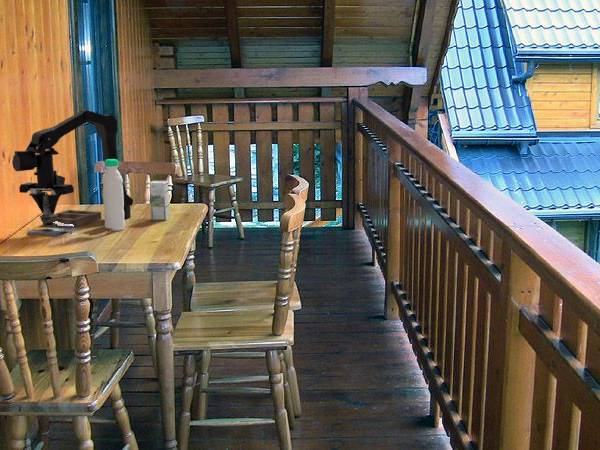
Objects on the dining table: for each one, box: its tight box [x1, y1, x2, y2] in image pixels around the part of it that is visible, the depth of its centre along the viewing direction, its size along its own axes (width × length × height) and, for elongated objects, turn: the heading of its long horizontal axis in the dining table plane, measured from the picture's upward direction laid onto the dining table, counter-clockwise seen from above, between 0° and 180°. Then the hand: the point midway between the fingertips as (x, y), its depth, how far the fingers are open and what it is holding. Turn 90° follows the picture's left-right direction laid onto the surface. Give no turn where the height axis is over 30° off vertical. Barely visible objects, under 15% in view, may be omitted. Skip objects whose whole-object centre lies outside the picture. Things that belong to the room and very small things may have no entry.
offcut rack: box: [42, 209, 102, 228], centre depth 303 cm, size 14×16×4 cm
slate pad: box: [26, 229, 68, 237], centre depth 290 cm, size 12×8×1 cm
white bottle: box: [101, 158, 126, 232], centre depth 293 cm, size 7×7×25 cm
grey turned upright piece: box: [39, 191, 58, 228], centre depth 289 cm, size 6×6×12 cm
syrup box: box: [149, 180, 170, 221], centre depth 312 cm, size 6×6×14 cm
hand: (48, 213), depth 289 cm, fingers closed on grey turned upright piece, 3 cm apart
